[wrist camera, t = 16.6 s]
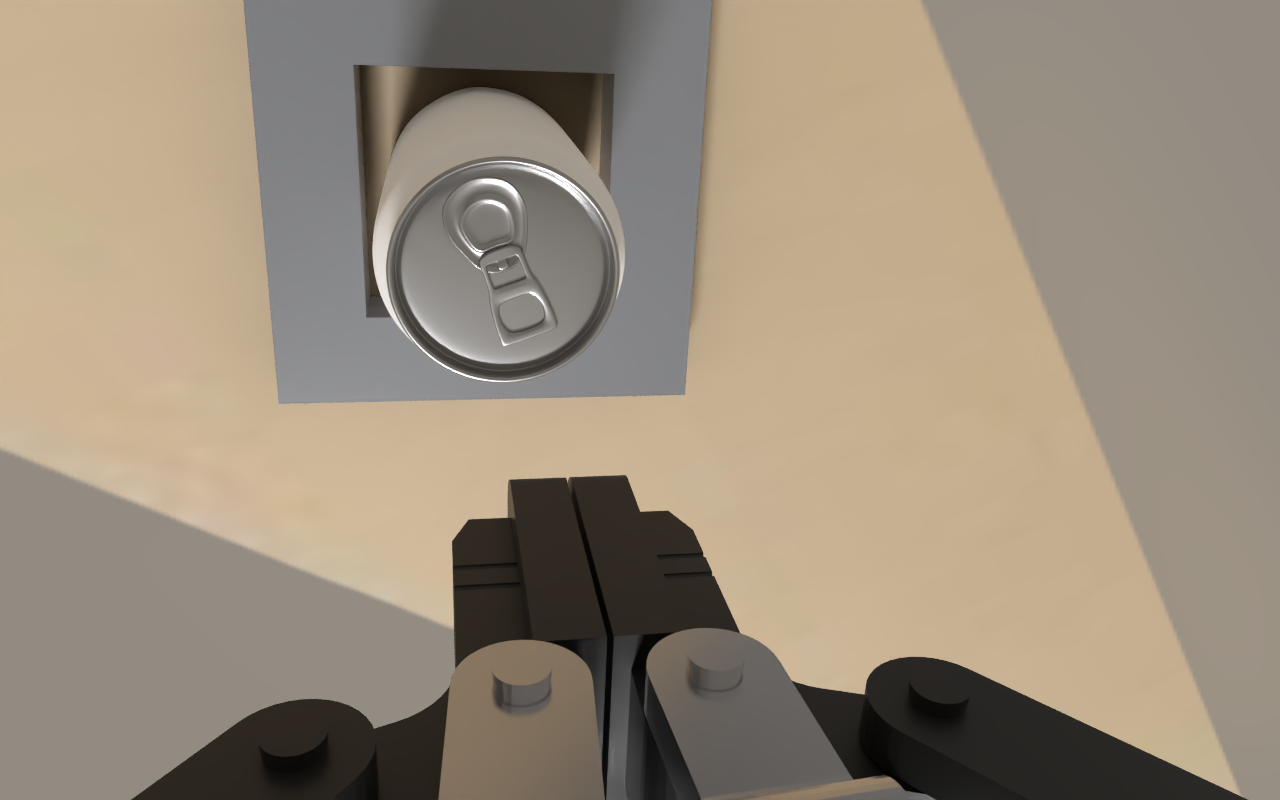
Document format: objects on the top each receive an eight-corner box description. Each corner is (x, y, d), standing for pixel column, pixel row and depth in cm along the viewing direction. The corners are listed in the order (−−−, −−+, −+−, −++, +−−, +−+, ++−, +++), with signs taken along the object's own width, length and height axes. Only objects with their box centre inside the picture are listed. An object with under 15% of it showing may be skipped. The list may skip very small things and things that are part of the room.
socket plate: (288, 377, 37) (278, 403, 35) (253, -48, 32) (239, -49, 30) (670, 370, 40) (684, 394, 38) (695, -24, 35) (713, -24, 32)
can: (541, 58, 35) (589, 98, 24) (601, 237, 38) (669, 347, 27) (357, 122, 35) (320, 193, 24) (431, 298, 37) (429, 435, 26)
